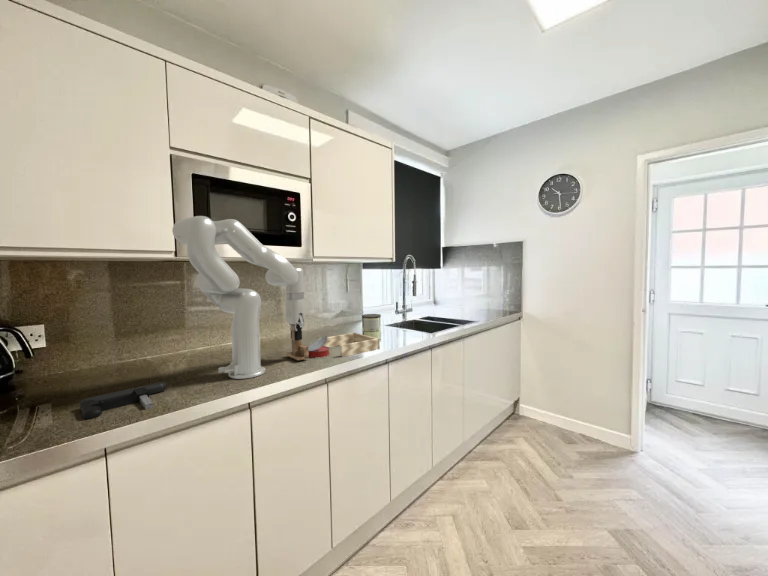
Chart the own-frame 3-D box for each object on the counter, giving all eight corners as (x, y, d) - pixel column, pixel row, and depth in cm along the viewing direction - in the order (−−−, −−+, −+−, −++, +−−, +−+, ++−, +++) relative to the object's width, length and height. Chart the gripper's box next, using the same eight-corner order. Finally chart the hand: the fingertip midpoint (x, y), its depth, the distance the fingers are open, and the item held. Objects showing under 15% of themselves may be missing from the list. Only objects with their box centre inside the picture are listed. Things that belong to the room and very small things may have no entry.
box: (342, 356, 141) (342, 345, 140) (318, 348, 157) (318, 338, 157) (379, 348, 154) (379, 338, 154) (354, 342, 171) (354, 332, 170)
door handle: (176, 394, 93) (163, 379, 104) (83, 417, 79) (78, 397, 90) (177, 405, 94) (163, 389, 105) (83, 430, 79) (79, 408, 90)
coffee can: (358, 340, 175) (358, 314, 174) (374, 338, 181) (374, 313, 180) (368, 343, 166) (368, 316, 166) (385, 341, 172) (384, 315, 171)
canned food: (325, 367, 142) (323, 350, 137) (304, 364, 143) (301, 347, 138) (333, 350, 151) (332, 333, 146) (313, 347, 153) (311, 331, 148)
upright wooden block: (297, 360, 132) (296, 326, 132) (285, 355, 142) (284, 323, 141) (308, 358, 136) (307, 325, 135) (296, 353, 145) (295, 322, 144)
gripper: (279, 296, 141) (280, 337, 142) (294, 298, 129) (296, 343, 129) (295, 295, 146) (296, 335, 147) (311, 297, 133) (313, 340, 134)
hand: (296, 338), depth 138 cm, fingers closed on upright wooden block, 3 cm apart
